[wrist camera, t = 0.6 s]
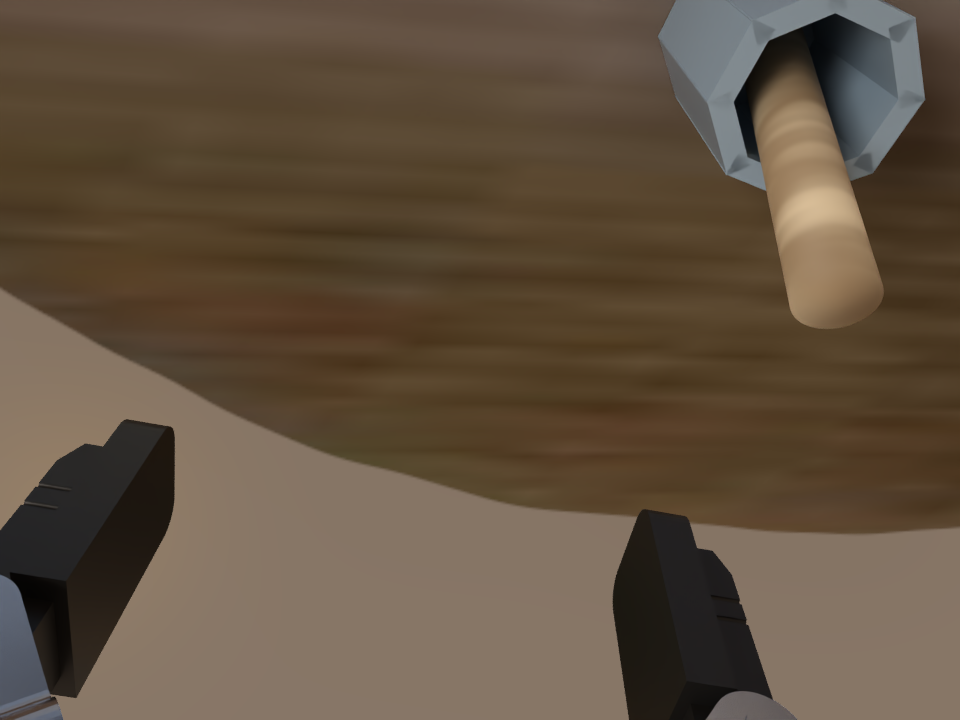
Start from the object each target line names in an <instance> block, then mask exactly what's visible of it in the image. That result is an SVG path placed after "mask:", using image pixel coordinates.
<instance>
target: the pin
mask: <svg viewBox="0 0 960 720" xmlns="http://www.w3.org/2000/svg"><path fill="white" fill-rule="evenodd" d="M745 87H746V92H747V97H748V102H749V107H750V112H751V117H752V122H753V127H754V132H755V137H756V142H757V147H758V152H759V157H760V162H761V166H762V171H763V176H764V181H765V186H766V191H767V196H768V201H769V206H770V211H771V216H772V221H773V226H774V231H775V236H776V241H777V246H778V250H779V255H780V260H781V265H782V270H783V275H784V280H785V285H786V290H787V295H788V300H789V305H790V309H791V312H792V314H793V316H794V317H795V318H796V319H797V320H798V321H799V322H801V323H803V324H805V325H807V326H810V327H814V328H820V329H835V328H841V327H845V326H849V325H852V324H855V323H857V322H859V321H861V320H863V319H865V318H866V317H868V316H869V315H870V314H872V313H873V312H874V311H875V310H876V309H877V307H878V306H879V305H880V303H881V301H882V298H883V294H884V288H883V284H882V281H881V278H880V275H879V271H878V268H877V265H876V262H875V259H874V256H873V252H872V249H871V246H870V243H869V240H868V236H867V233H866V230H865V227H864V224H863V220H862V217H861V214H860V211H859V208H858V205H857V201H856V198H855V195H854V192H853V189H852V185H851V182H850V179H849V176H848V173H847V169H846V166H845V163H844V160H843V157H842V154H841V150H840V147H839V144H838V141H837V138H836V134H835V131H834V128H833V125H832V122H831V118H830V115H829V112H828V109H827V106H826V102H825V99H824V96H823V93H822V90H821V87H820V83H819V80H818V77H817V74H816V71H815V67H814V64H813V61H812V58H811V55H810V51H809V48H808V45H807V42H806V39H805V36H804V32H803V29H802V27H800V28H798V29H796V30H793V31H791V32H788V33H786V34H783V35H781V36H779V37H776V38H774V39H771V40H769V41H768V43H767V44H766V46H765V48H764V50H763V51H762V53H761V55H760V57H759V58H758V60H757V62H756V64H755V65H754V67H753V69H752V71H751V72H750V74H749V76H748V77H747V79H746V81H745Z"/></svg>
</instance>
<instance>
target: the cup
mask: <svg viewBox="0 0 960 720" xmlns="http://www.w3.org/2000/svg"><path fill="white" fill-rule="evenodd" d="M800 27H802V29H803V32H804V36H805V39H806V42H807V45H808V48H809V51H810V55H811V58H812V61H813V64H814V67H815V71H816V74H817V77H818V80H819V83H820V87H821V90H822V93H823V96H824V99H825V102H826V106H827V109H828V112H829V115H830V118H831V122H832V125H833V128H834V131H835V134H836V138H837V141H838V144H839V147H840V150H841V154H842V157H843V160H844V163H845V166H846V169H847V173H848V176H849V179H850V181H852V180H855V179H858V178H860V177H863V176H866V175H869V174H871V173H874V171H875V169H876V168H877V166H878V165H879V164H880V162H881V161H882V159H883V158H884V157H885V155H886V154H887V152H888V151H889V149H890V148H891V147H892V145H893V144H894V142H895V141H896V140H897V138H898V137H899V135H900V134H901V132H902V131H903V130H904V128H905V127H906V125H907V124H908V123H909V121H910V120H911V118H912V117H913V116H914V114H915V113H916V111H917V110H918V108H919V107H920V106H921V104H922V103H923V101H924V100H925V99H926V98H925V95H924V87H923V78H922V70H921V61H920V53H919V44H918V36H917V27H916V18H915V17H914V16H912V15H910V14H908V13H906V12H904V11H902V10H900V9H898V8H896V7H894V6H892V5H890V4H888V3H886V2H884V1H882V0H676V2H675V4H674V6H673V8H672V10H671V12H670V14H669V16H668V18H667V20H666V22H665V24H664V26H663V28H662V30H661V32H660V34H659V35H658V38H659V41H660V44H661V48H662V51H663V55H664V58H665V61H666V65H667V68H668V72H669V75H670V79H671V82H672V86H673V89H674V93H675V97H676V98H677V100H678V101H679V103H680V105H681V106H682V108H683V109H684V111H685V112H686V114H687V115H688V117H689V118H690V120H691V121H692V123H693V124H694V126H695V128H696V129H697V131H698V132H699V134H700V135H701V137H702V138H703V140H704V141H705V143H706V144H707V146H708V147H709V149H710V151H711V152H712V154H713V155H714V157H715V158H716V160H717V161H718V163H719V164H720V166H721V167H722V169H723V170H724V172H725V174H726V175H729V176H731V177H734V178H736V179H739V180H741V181H744V182H746V183H749V184H751V185H753V186H756V187H758V188H761V189H763V190H766V186H765V181H764V176H763V171H762V166H761V162H760V157H759V152H758V147H757V142H756V137H755V132H754V127H753V122H752V117H751V112H750V107H749V102H748V97H747V92H746V87H745V81H746V79H747V77H748V76H749V74H750V72H751V71H752V69H753V67H754V65H755V64H756V62H757V60H758V58H759V57H760V55H761V53H762V51H763V50H764V48H765V46H766V44H767V43H768V41H769V40H771V39H774V38H776V37H779V36H781V35H783V34H786V33H788V32H791V31H793V30H796V29H798V28H800Z"/></svg>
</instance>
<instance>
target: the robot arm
mask: <svg viewBox="0 0 960 720" xmlns="http://www.w3.org/2000/svg"><path fill="white" fill-rule="evenodd" d="M174 470H175V437H174V431H173V428H172V427H169V426H163V425H157V424H151V423H145V422H140V421H134V420H128V419H126V420H124V421H123V422H121V424H120V425H119V426H118V427H117V429H116V430H115V431H114V433H113V434H112V436H111V437H110V438H109V439H108V441H107V442H106V444H105V445H104V446H103V447H102V446H96V445H90V444H84V445H82V446H80V447H79V448H77V449H75V450H74V451H72V452H70V453H69V454H67V455H66V456H64V457H62V458H60V459H59V460H57V461H56V462H55V464H54V465H53V466H52V467H51V469H50V470H49V471H48V472H47V473H46V475H45V476H44V477H43V479H42V480H41V481H40V482H39V486H38V487H35V488H34V490H33V491H32V492H31V493H30V494H29V496H28V497H27V498H26V499H25V502H24V505H20V507H19V508H18V509H17V510H16V512H15V513H14V514H13V515H12V517H11V518H10V519H9V520H8V521H7V523H6V524H5V525H4V526H3V528H2V529H1V530H0V720H63V717H62V714H61V711H60V707H59V705H58V702H57V700H56V698H55V697H52V698H51V696H50V694H53V695H59V696H67V697H73V698H77V695H78V694H79V692H80V690H81V688H82V686H83V685H84V683H85V681H86V679H87V677H88V675H89V674H90V672H91V670H92V668H93V666H94V664H95V663H96V661H97V659H98V657H99V655H100V653H101V651H102V650H103V648H104V646H105V644H106V642H107V641H108V639H109V637H110V635H111V633H112V631H113V630H114V628H115V626H116V624H117V622H118V620H119V619H120V617H121V615H122V613H123V611H124V609H125V608H126V606H127V604H128V602H129V600H130V598H131V597H132V595H133V593H134V591H135V589H136V587H137V585H138V583H139V582H140V580H141V578H142V576H143V575H144V573H145V571H146V569H147V567H148V565H149V564H150V562H151V560H152V558H153V556H154V554H155V552H156V551H157V549H158V547H159V545H160V543H161V541H162V540H163V538H164V536H165V534H166V531H167V529H168V526H169V523H170V520H171V516H172V512H173V506H174V480H175V478H174V477H175V476H174V475H175V471H174ZM739 601H740V599H739V595H738V593H737V589H736V586H735V583H734V581H733V578H732V575H731V573H730V572H729V571H728V569H727V568H726V567H725V566H724V565H723V563H722V562H721V561H720V559H719V558H718V557H717V556H716V554H715V553H714V552H713V551H710V550H704V549H698V548H697V547H696V543H695V540H694V536H693V533H692V529H691V526H690V523H689V520H688V518H687V517H686V516H681V515H675V514H669V513H663V512H658V511H652V510H646V509H644V510H642V511H641V512H640V513H639V515H638V517H637V520H636V523H635V525H634V528H633V531H632V533H631V536H630V539H629V541H628V544H627V547H626V550H625V553H624V555H623V558H622V561H621V563H620V566H619V569H618V571H617V575H616V578H615V583H614V590H613V613H614V620H615V627H616V633H617V640H618V647H619V654H620V661H621V668H622V674H623V681H624V688H625V694H626V701H627V709H628V715H629V720H797V719H796V718H795V716H794V715H792V714H791V713H790V712H789V711H788V710H787V709H786V708H784V707H783V706H782V705H780V704H779V703H777V702H776V701H774V700H773V699H772V695H771V692H770V689H769V686H768V684H767V681H766V677H765V675H764V671H763V668H762V665H761V662H760V659H759V656H758V653H757V650H756V647H755V644H754V641H753V638H752V635H751V632H750V629H749V626H748V625H746V617H745V614H744V611H743V608H742V605H741V604H739Z"/></svg>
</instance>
